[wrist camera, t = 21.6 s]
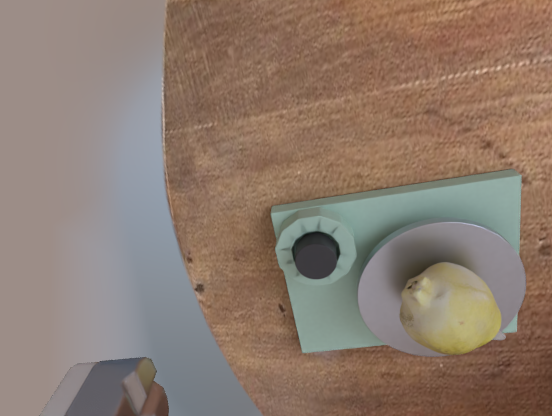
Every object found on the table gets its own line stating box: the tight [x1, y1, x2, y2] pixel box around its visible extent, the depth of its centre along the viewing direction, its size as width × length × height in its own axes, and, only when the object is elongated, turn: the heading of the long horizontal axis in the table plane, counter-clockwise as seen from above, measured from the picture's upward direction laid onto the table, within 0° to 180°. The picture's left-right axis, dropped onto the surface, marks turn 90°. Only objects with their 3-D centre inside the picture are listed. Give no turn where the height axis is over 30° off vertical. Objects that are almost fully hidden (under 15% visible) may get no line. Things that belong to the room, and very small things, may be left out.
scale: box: [270, 169, 521, 353], centre depth 34 cm, size 18×14×3 cm
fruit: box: [399, 262, 506, 355], centre depth 29 cm, size 6×6×10 cm
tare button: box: [295, 233, 337, 279], centre depth 31 cm, size 3×3×2 cm
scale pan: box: [357, 217, 526, 357], centre depth 32 cm, size 12×12×1 cm
